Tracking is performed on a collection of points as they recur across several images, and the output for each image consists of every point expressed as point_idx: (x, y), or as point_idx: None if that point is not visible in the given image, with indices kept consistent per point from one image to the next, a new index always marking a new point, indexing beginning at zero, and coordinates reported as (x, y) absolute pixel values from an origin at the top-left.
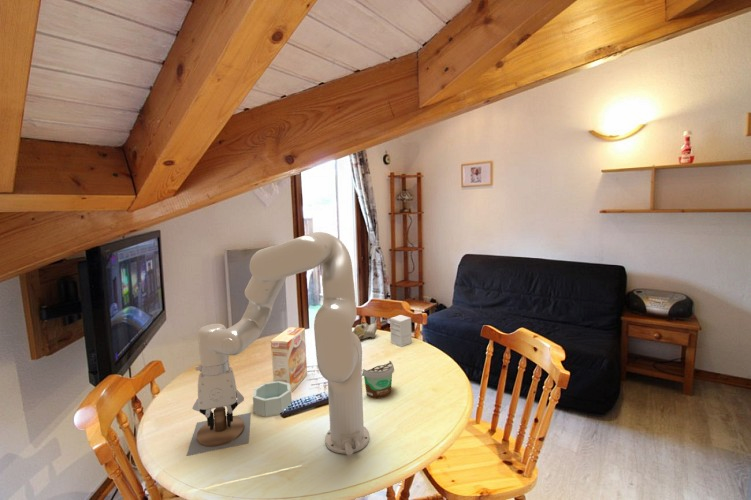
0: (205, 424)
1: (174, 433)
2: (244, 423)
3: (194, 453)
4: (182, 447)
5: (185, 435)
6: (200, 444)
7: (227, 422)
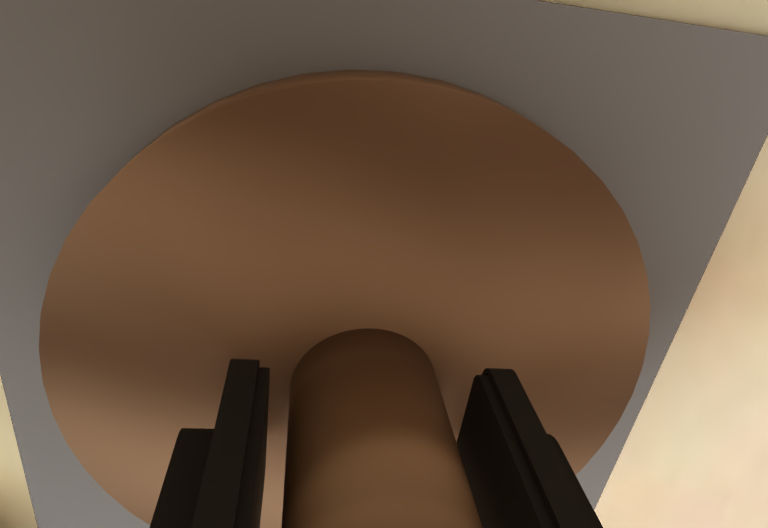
0: None
1: (746, 485)
2: None
3: (715, 46)
4: (755, 269)
5: (680, 435)
6: None
7: (259, 413)
